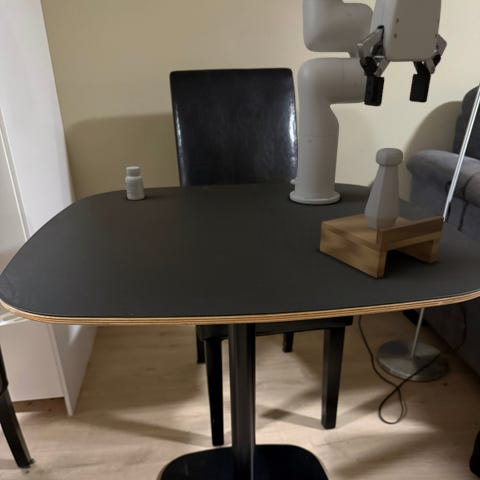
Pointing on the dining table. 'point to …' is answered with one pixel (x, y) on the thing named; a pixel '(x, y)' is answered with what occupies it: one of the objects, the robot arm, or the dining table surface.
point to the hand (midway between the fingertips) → (395, 103)
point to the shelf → (379, 241)
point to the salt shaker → (385, 190)
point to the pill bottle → (134, 183)
